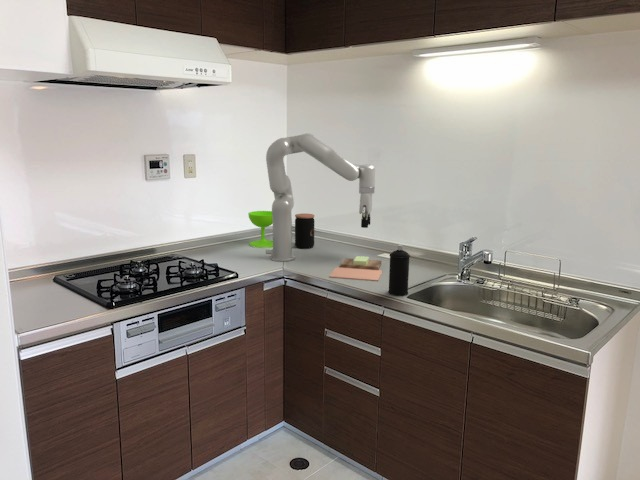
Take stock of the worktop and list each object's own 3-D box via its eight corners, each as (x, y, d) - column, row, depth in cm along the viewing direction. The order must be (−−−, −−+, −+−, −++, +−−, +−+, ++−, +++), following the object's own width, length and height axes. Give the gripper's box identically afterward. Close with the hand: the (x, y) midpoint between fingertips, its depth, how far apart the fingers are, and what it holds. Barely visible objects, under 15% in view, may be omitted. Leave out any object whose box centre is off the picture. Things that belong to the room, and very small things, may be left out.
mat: (328, 277, 233) (329, 276, 232) (336, 268, 248) (336, 267, 248) (378, 281, 228) (378, 280, 227) (382, 271, 243) (382, 270, 243)
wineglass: (282, 243, 299) (281, 212, 295) (269, 249, 284) (269, 216, 280) (257, 240, 304) (256, 210, 300) (243, 246, 290) (243, 214, 286)
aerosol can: (403, 297, 206) (405, 248, 202) (384, 293, 211) (386, 245, 206) (411, 292, 213) (413, 244, 209) (393, 288, 218) (394, 241, 213)
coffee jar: (313, 249, 284) (314, 216, 281) (294, 249, 285) (294, 216, 281) (314, 244, 295) (314, 213, 291) (295, 244, 295) (295, 213, 291)
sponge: (353, 264, 246) (353, 260, 246) (356, 260, 255) (356, 256, 255) (365, 265, 245) (366, 261, 245) (368, 260, 254) (368, 256, 253)
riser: (340, 268, 247) (340, 264, 247) (345, 262, 259) (345, 258, 258) (378, 271, 243) (378, 267, 243) (381, 264, 255) (381, 260, 254)
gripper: (361, 188, 263) (361, 222, 267) (356, 192, 246) (355, 228, 250) (376, 188, 261) (375, 223, 265) (371, 192, 245) (370, 229, 248)
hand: (365, 225), depth 257 cm, fingers open, 7 cm apart
